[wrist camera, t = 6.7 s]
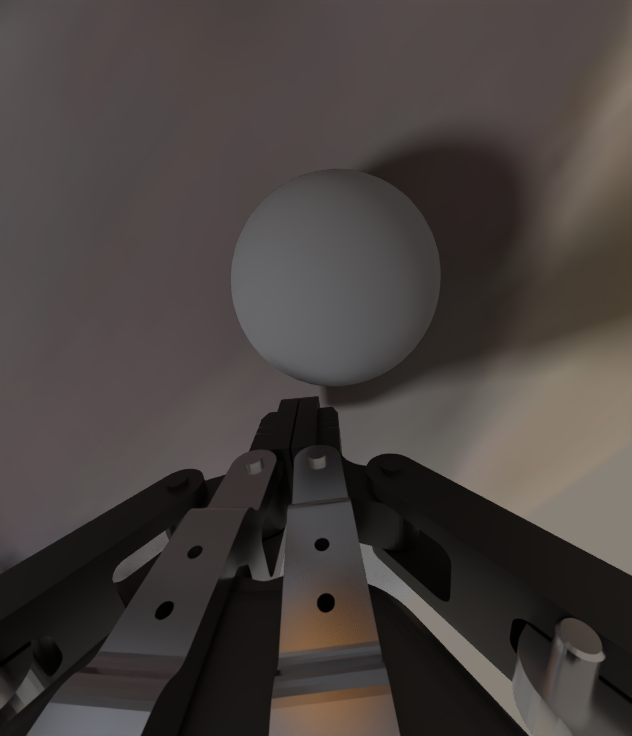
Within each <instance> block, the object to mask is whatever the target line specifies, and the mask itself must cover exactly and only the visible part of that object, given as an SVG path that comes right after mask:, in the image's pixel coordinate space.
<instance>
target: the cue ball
mask: <svg viewBox="0 0 632 736" xmlns="http://www.w3.org/2000/svg"><path fill="white" fill-rule="evenodd" d="M440 282H441V270H440V260H439V253H438V250H437V246H436V243H435V239H434V236H433V233H432V232H431V230H430V228H429V226H428V224H427V222H426V220H425V218H424V216H423V215H422V213H421V212H420V211H419V210H418V208H417V207H416V206H415V205H414V204H413V202H412V201H411V200H410V199H409V198H408V197H407V196H406V195H405V194H403V193H402V192H401V191H400V190H399V189H397V188H396V187H394V186H393V185H391V184H390V183H388V182H386V181H384V180H383V179H381V178H378V177H375V176H372V175H370V174H367V173H364V172H360V171H355V170H349V169H330V170H322V171H315V172H312V173H308V174H304V175H302V176H299V177H297V178H295V179H292V180H290V181H289V182H287V183H285V184H283V185H282V186H280V187H279V188H277V189H276V190H275V191H274V192H272V193H271V194H270V195H269V196H268V197H266V198H265V200H264V201H263V202H262V203H261V204H260V205H259V206H258V207H257V208H256V209H255V211H254V212H253V213H252V214H251V216H250V217H249V219H248V221H247V222H246V224H245V226H244V228H243V230H242V232H241V234H240V236H239V239H238V242H237V244H236V247H235V252H234V257H233V262H232V267H231V291H232V298H233V303H234V308H235V311H236V314H237V317H238V320H239V322H240V325H241V327H242V329H243V331H244V332H245V334H246V336H247V338H248V339H249V341H250V342H251V344H252V345H253V346H254V348H255V349H256V350H257V351H258V352H259V353H260V354H261V356H262V357H263V358H264V359H266V360H267V361H268V362H269V363H270V364H272V365H273V366H274V367H275V368H277V369H278V370H280V371H282V372H283V373H285V374H287V375H289V376H291V377H293V378H295V379H297V380H300V381H304V382H307V383H310V384H315V385H322V386H347V385H353V384H358V383H362V382H365V381H368V380H371V379H373V378H375V377H378V376H380V375H382V374H384V373H386V372H387V371H389V370H391V369H392V368H394V367H395V366H396V365H398V364H399V363H400V362H401V361H402V360H404V359H405V358H406V357H407V356H408V355H409V354H410V353H411V352H412V351H413V350H414V348H415V347H416V346H417V345H418V343H419V342H420V340H421V339H422V337H423V336H424V334H425V333H426V331H427V329H428V327H429V325H430V323H431V320H432V318H433V316H434V313H435V310H436V306H437V302H438V298H439V293H440Z"/></svg>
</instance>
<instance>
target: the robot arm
mask: <svg viewBox="0 0 632 736" xmlns="http://www.w3.org/2000/svg"><path fill="white" fill-rule="evenodd" d="M163 531H166V534H167V537H168V539H169V542H168V543H167V545H166V546H165V548H164V549H163V551H162V552H160V553H159V554H158V555H156V556H155V557H154V558H152V559H151V560H150V561H148V562H147V563H146V564H144V565H143V566H142V567H141V568H139V569H138V570H137V571H135V572H134V573H133V574H131V575H130V576H129V577H127V578H126V579H124V580H122V581H120V582H117V583H113V581H112V577H113V573H114V571H115V569H116V567H117V566H118V565H119V564H120V563H121V562H122V561H123V560H124V559H126V558H127V557H128V556H130V555H131V554H133V553H134V552H135V551H137V550H138V549H140V548H141V547H142V546H144V545H145V544H147V543H148V542H149V541H151V540H152V539H154V538H155V537H156V536H158V535H159V534H161V533H162V532H163ZM359 543H362V544H366V545H371V546H372V548H373V551H374V553H375V554H376V556H377V557H378V558H379V559H380V560H381V561H382V562H383V563H384V564H385V565H386V566H387V567H389V568H390V569H391V570H392V571H393V572H394V573H395V574H396V575H397V576H398V577H399V578H400V579H401V580H403V581H404V582H405V583H406V584H407V585H408V586H409V587H410V588H411V589H412V590H413V591H414V592H416V593H417V594H418V595H419V596H420V597H421V598H422V599H423V600H424V601H425V602H426V603H427V604H429V605H430V606H431V607H432V608H433V609H434V610H435V611H436V612H437V613H438V614H439V615H440V616H442V617H443V618H444V619H445V620H446V621H447V622H448V623H449V624H450V625H451V626H452V627H453V628H454V629H456V630H457V631H458V632H459V633H460V634H461V635H462V636H463V637H464V638H465V639H467V641H469V642H470V643H471V644H472V645H473V646H474V647H475V648H476V649H477V650H478V651H479V652H480V653H482V654H483V655H484V656H485V657H486V658H487V659H488V660H489V661H490V662H491V663H492V664H493V665H494V666H495V667H497V668H498V669H499V670H500V671H501V672H502V673H503V674H504V675H505V676H506V677H508V679H510V680H511V681H512V689H513V695H514V699H515V703H516V706H517V708H518V711H519V713H520V715H521V717H522V719H523V721H524V723H525V724H526V726H527V728H528V729H529V730H530V732H531V733H532V735H533V736H632V576H631V575H629V574H627V573H625V572H623V571H622V570H620V569H618V568H616V567H614V566H612V565H610V564H608V563H606V562H605V561H603V560H601V559H599V558H597V557H595V556H593V555H591V554H589V553H587V552H586V551H584V550H582V549H580V548H578V547H576V546H574V545H572V544H571V543H569V542H567V541H565V540H563V539H561V538H559V537H557V536H555V535H554V534H552V533H550V532H548V531H546V530H544V529H542V528H540V527H538V526H537V525H535V524H533V523H531V522H529V521H527V520H525V519H523V518H521V517H519V516H518V515H516V514H514V513H512V512H510V511H508V510H506V509H504V508H502V507H501V506H499V505H497V504H495V503H493V502H491V501H489V500H487V499H485V498H484V497H482V496H480V495H478V494H476V493H474V492H472V491H470V490H468V489H466V488H465V487H463V486H461V485H459V484H457V483H455V482H453V481H451V480H449V479H448V478H446V477H444V476H442V475H440V474H438V473H436V472H434V471H432V470H431V469H429V468H427V467H425V466H423V465H421V464H419V463H417V462H415V461H413V460H412V459H410V458H408V457H405V456H403V455H399V454H382V455H378V456H376V457H374V458H372V459H371V460H370V461H369V462H368V464H367V466H364V465H358V464H355V463H352V462H350V461H348V460H346V459H345V458H344V457H343V456H342V449H341V439H340V429H339V420H338V412H337V411H336V410H335V409H334V408H333V407H325V408H320V403H319V397H318V396H315V397H304V398H294V399H284V400H281V402H280V405H279V408H278V412H271V413H268V414H267V415H266V416H265V417H264V418H263V419H262V420H261V423H260V425H259V428H258V430H257V433H256V435H255V438H254V440H253V443H252V445H251V448H250V450H249V452H247V453H244V454H242V455H241V456H239V457H238V458H237V459H236V460H235V461H234V462H233V463H232V465H231V467H230V468H229V470H228V472H227V474H226V475H223V476H220V477H216V478H213V479H209V480H206V481H205V480H204V476H203V474H202V472H201V471H199V470H196V469H185V470H180V471H177V472H175V473H172V474H170V475H168V476H167V477H165V478H163V479H161V480H160V481H158V482H156V483H155V484H153V485H151V486H150V487H148V488H146V489H144V490H143V491H141V492H139V493H138V494H136V495H134V496H133V497H131V498H129V499H127V500H126V501H124V502H122V503H121V504H119V505H117V506H116V507H114V508H112V509H110V510H109V511H107V512H105V513H104V514H102V515H100V516H99V517H97V518H95V519H94V520H92V521H90V522H88V523H87V524H85V525H83V526H82V527H80V528H78V529H77V530H75V531H73V532H71V533H70V534H68V535H66V536H65V537H63V538H61V539H60V540H58V541H56V542H54V543H53V544H51V545H49V546H48V547H46V548H44V549H43V550H41V551H39V552H37V553H36V554H34V555H32V556H31V557H29V558H27V559H26V560H24V561H22V562H20V563H19V564H17V565H15V566H14V567H12V568H10V569H9V570H7V571H5V572H3V573H2V574H0V736H529V735H528V734H527V733H526V732H525V731H524V730H523V729H522V728H521V727H520V726H519V725H518V724H517V723H516V722H515V721H514V719H513V718H512V717H511V716H510V715H509V714H508V713H507V712H506V711H505V710H504V709H503V708H502V707H501V706H500V705H499V703H498V702H497V701H496V700H494V698H493V697H492V696H491V695H490V694H489V693H488V692H487V691H486V690H485V689H484V688H483V687H482V686H481V685H480V683H479V682H478V681H477V680H476V679H475V678H474V677H473V676H472V675H471V674H470V673H469V672H468V671H467V670H466V669H465V668H464V666H463V665H462V664H461V663H460V662H459V661H458V660H457V659H456V658H455V657H454V656H453V655H452V654H451V653H450V652H449V651H448V650H447V649H446V647H445V646H444V645H443V644H442V643H441V642H440V641H439V640H438V639H437V638H436V637H435V636H434V635H433V634H432V633H431V632H430V630H429V629H428V628H427V627H426V626H425V625H424V624H423V623H422V622H421V621H420V620H419V619H418V618H417V617H416V616H415V615H414V614H413V613H412V612H411V611H410V610H409V609H408V608H407V607H406V606H405V605H404V604H402V603H401V602H400V601H399V600H397V599H396V598H394V597H393V596H391V595H390V594H388V593H387V592H385V591H383V590H381V589H379V588H377V587H375V586H372V585H370V584H367V579H366V574H365V569H364V564H363V559H362V554H361V549H360V544H359ZM284 554H285V561H284V576H282V577H279V576H280V572H281V567H282V563H283V558H284Z"/></svg>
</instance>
